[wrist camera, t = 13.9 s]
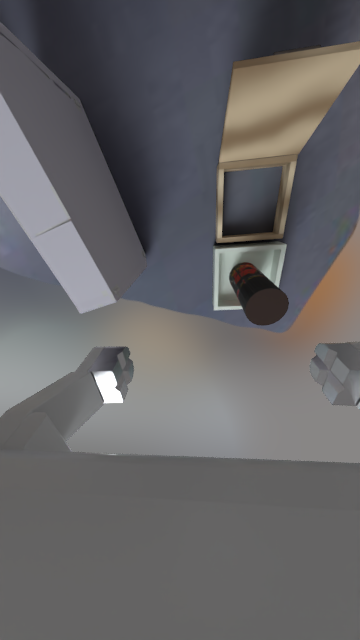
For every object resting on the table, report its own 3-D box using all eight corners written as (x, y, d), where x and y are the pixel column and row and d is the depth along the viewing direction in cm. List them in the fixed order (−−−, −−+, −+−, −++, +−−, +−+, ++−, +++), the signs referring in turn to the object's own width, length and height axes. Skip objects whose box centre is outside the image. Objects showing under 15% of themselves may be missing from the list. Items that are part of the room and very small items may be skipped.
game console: (77, 88, 28) (-105, -102, 11) (150, 263, 41) (118, 301, 23) (47, 108, 29) (-158, -35, 12) (127, 271, 42) (80, 313, 25)
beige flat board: (219, 162, 29) (218, 152, 29) (298, 153, 28) (299, 143, 28) (233, 69, 17) (233, 52, 17) (370, 47, 16) (371, 28, 16)
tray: (213, 245, 38) (214, 249, 34) (278, 241, 37) (286, 244, 33) (212, 302, 44) (214, 310, 41) (268, 300, 43) (274, 307, 39)
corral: (216, 167, 32) (218, 163, 29) (289, 159, 30) (297, 154, 28) (215, 240, 37) (217, 242, 35) (276, 236, 36) (282, 238, 34)
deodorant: (262, 266, 38) (297, 294, 26) (250, 292, 41) (275, 329, 29) (235, 258, 38) (256, 283, 25) (224, 285, 41) (238, 320, 28)
